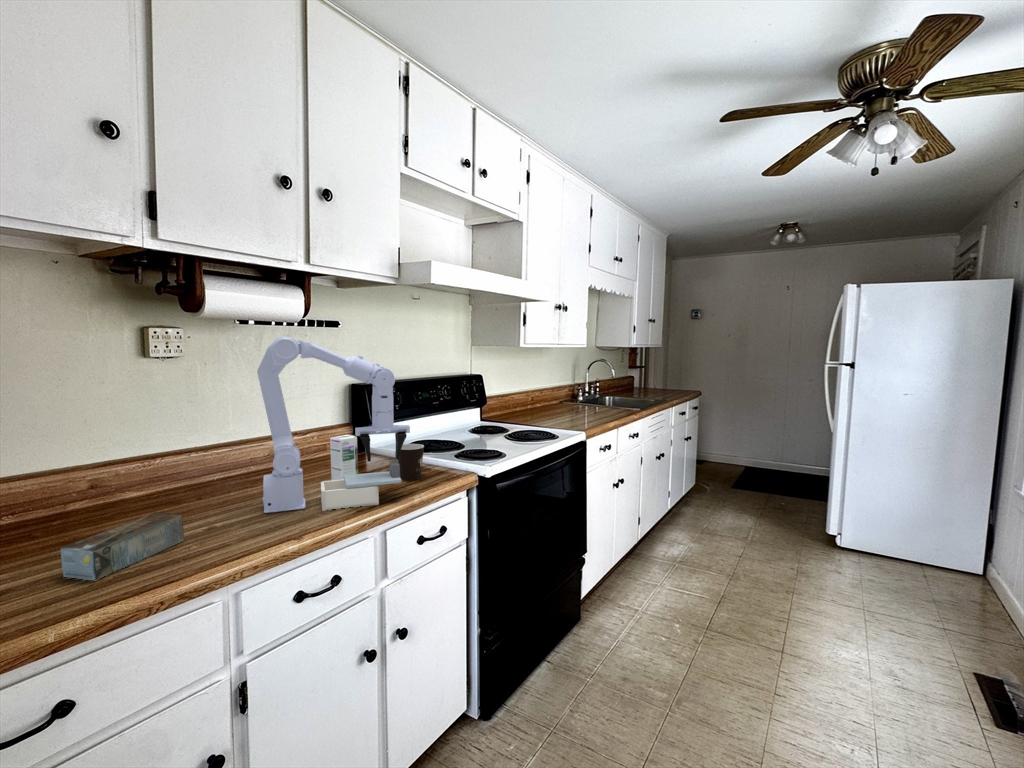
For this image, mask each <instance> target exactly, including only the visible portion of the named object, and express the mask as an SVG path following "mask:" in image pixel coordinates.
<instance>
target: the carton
mask: <svg viewBox="0 0 1024 768" xmlns="http://www.w3.org/2000/svg"><path fill="white" fill-rule="evenodd" d="M379 490H380V488H379V485H373V486H364V487H354V488H346V484H345V480H344V479H342V480H332V479H331V480H323V481H320V493H321V494H320V496H321V497H320V499H321V511H322V512H326V511H327V510H328V511H333V510H332V509H336V510H342V509H341V508H345V509H350V508H349V507H354V508H361V507H360V506H362V507H369V506H379V504H380V503H379V502H380V500H379V499H380V498H379V497H380V496H379V493H380V492H379Z"/></svg>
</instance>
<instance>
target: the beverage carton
mask: <svg viewBox="0 0 1024 768" xmlns="http://www.w3.org/2000/svg"><path fill="white" fill-rule="evenodd" d="M184 541H185V534H184V520H183V515H182V514H181V513H170V512H152V513H148V514H146V515H144V516H141V517H139V518H137V519H133V520H132V521H129V522H127V523H126V522H125V523H124V524H121V525H117V526H116V527H114V528H111V529H108V530H106V531H103V532H100V533H97V534H95V535H92V536H89V537H87V538H84V539H80V540H79V541H76V542H73V543H70V544H67V545H65V546H62V547H61V548H60V549H59V550H60V557H61V571H62V575H63V578H64V577H71V578H78V579H87V580H97V579H99V578H102V577H104V576H106V575H108V574H110V573H112V572H115V571H117V570H120V569H122V568H124V569H126V568H125V567H127V566H129V565H131V566H133V565H135V564H137V563H139V562H141V561H143V559H144V560H145V558H146V559H148V558H150V557H152V556H153V555H156V554H158V553H160V552H162V551H165V550H167V549H169V548H171V547H173V546H175V545H177V544H180V543H183V542H184ZM136 562H137V563H136ZM134 563H135V564H134ZM132 564H133V565H132ZM129 567H130V566H129ZM127 568H128V567H127ZM122 570H123V569H122ZM120 571H121V570H120ZM115 573H116V572H115ZM106 577H107V576H106ZM104 578H105V577H104ZM78 579H77V580H78ZM102 579H103V578H102Z"/></svg>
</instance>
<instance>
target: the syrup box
mask: <svg viewBox="0 0 1024 768" xmlns="http://www.w3.org/2000/svg"><path fill="white" fill-rule="evenodd" d="M329 439H330V440H329V443H330V446H329V448H330V471H331V472H330V473H331V481H332V480H342V479H344V475H354V474H359V463H358V462H359V461H358V459H359V458H358V436H356V435H353V434H343V435H337V436H331V437H330V438H329Z"/></svg>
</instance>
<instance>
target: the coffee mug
mask: <svg viewBox="0 0 1024 768" xmlns="http://www.w3.org/2000/svg"><path fill="white" fill-rule="evenodd" d="M424 448H425V445H424V444H419V443H403V445H402V448H401V451H400V456H399V459H397V462H398V463H399V465H400V478H401V480H402V479H403V480H402V481H414V480H413V479H417V480H419V479H421V478H422V467H423V458H424V451H425V449H424ZM420 477H421V478H420ZM418 478H419V479H418Z"/></svg>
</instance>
